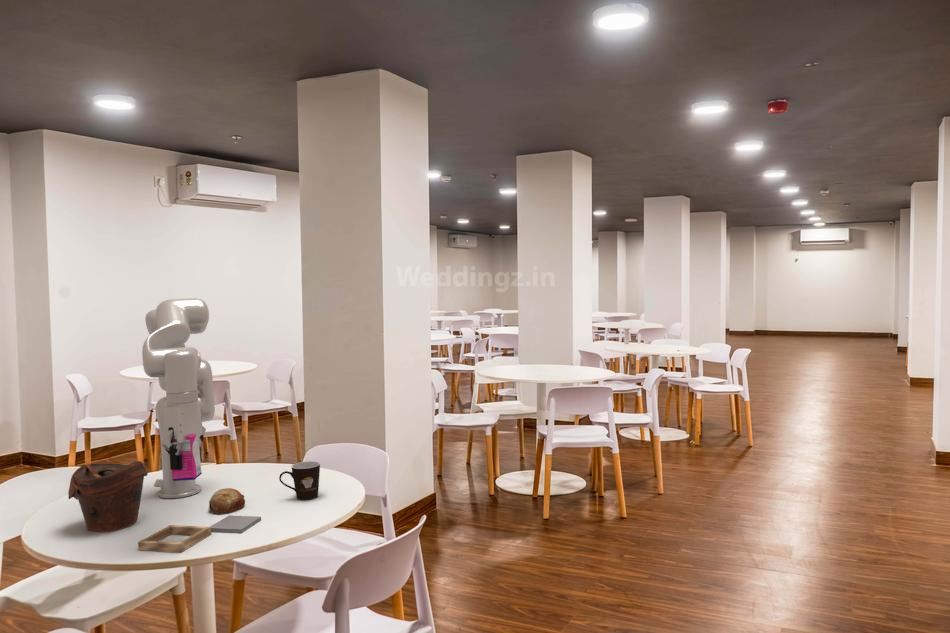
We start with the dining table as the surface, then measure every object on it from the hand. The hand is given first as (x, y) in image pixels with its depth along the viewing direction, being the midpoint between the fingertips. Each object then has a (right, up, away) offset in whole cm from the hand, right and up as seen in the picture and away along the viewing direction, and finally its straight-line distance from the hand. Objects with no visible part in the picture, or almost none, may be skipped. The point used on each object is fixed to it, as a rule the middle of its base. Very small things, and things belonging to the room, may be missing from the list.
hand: (186, 465), depth 182 cm
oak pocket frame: (-2, -20, -2) cm, 20 cm away
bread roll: (+2, -18, +24) cm, 31 cm away
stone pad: (+10, -19, +9) cm, 23 cm away
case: (-27, -20, +14) cm, 36 cm away
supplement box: (0, -3, 0) cm, 4 cm away
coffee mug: (+22, -17, +33) cm, 43 cm away
